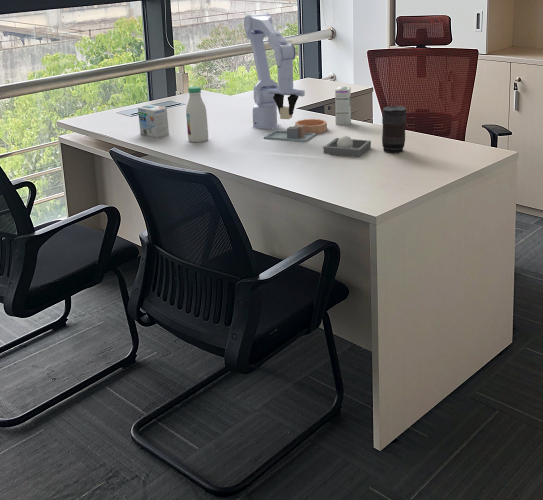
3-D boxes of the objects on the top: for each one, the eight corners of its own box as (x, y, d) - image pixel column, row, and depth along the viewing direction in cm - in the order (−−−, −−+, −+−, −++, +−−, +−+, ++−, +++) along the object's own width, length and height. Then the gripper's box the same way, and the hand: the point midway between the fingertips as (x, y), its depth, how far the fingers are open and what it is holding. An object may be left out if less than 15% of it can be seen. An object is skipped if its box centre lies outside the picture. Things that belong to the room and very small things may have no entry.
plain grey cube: (287, 139, 254) (286, 128, 252) (290, 136, 257) (290, 126, 255) (295, 139, 252) (295, 129, 251) (299, 137, 255) (298, 127, 254)
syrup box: (349, 125, 272) (350, 89, 266) (334, 125, 273) (335, 89, 267) (350, 122, 277) (351, 86, 271) (336, 122, 278) (336, 86, 272)
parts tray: (263, 139, 256) (263, 136, 255) (275, 133, 265) (275, 130, 264) (305, 143, 249) (305, 140, 248) (316, 136, 258) (316, 133, 258)
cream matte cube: (280, 118, 256) (279, 108, 255) (283, 116, 259) (283, 106, 258) (288, 119, 255) (288, 108, 253) (292, 117, 258) (292, 106, 256)
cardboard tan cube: (293, 137, 256) (293, 126, 255) (296, 134, 259) (295, 124, 258) (302, 137, 255) (302, 127, 253) (304, 135, 258) (304, 124, 256)
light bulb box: (139, 134, 271) (136, 107, 267) (153, 130, 276) (150, 104, 271) (156, 137, 264) (153, 110, 260) (169, 134, 269) (167, 107, 264)
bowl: (290, 133, 263) (290, 124, 262) (302, 126, 273) (302, 118, 272) (319, 135, 258) (319, 127, 257) (330, 128, 268) (330, 120, 267)
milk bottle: (211, 138, 261) (208, 85, 253) (203, 143, 254) (199, 89, 246) (193, 137, 263) (189, 85, 255) (185, 142, 257) (180, 89, 248)
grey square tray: (323, 154, 235) (323, 146, 234) (336, 144, 246) (336, 137, 245) (359, 157, 230) (359, 150, 229) (370, 147, 240) (370, 140, 239)
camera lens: (378, 148, 239) (380, 106, 233) (401, 147, 240) (403, 105, 234) (384, 154, 232) (385, 111, 226) (407, 153, 232) (409, 109, 226)
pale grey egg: (342, 154, 234) (342, 138, 232) (333, 151, 238) (333, 135, 236) (361, 151, 237) (361, 135, 235) (351, 147, 242) (352, 132, 239)
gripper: (263, 78, 251) (264, 115, 256) (299, 80, 245) (299, 117, 250) (271, 75, 256) (272, 111, 262) (306, 77, 251) (307, 113, 256)
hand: (286, 114), depth 257 cm, fingers closed on cream matte cube, 3 cm apart
